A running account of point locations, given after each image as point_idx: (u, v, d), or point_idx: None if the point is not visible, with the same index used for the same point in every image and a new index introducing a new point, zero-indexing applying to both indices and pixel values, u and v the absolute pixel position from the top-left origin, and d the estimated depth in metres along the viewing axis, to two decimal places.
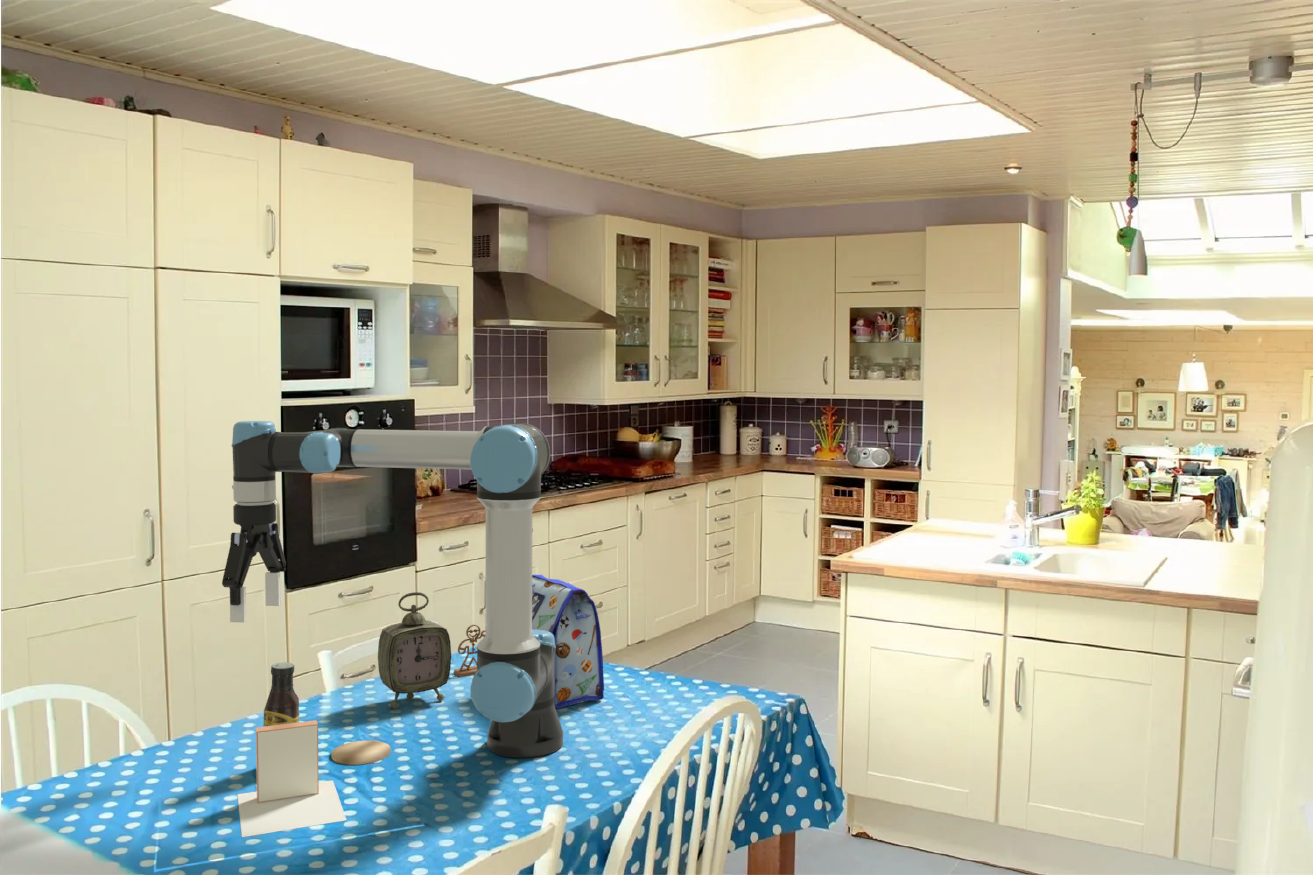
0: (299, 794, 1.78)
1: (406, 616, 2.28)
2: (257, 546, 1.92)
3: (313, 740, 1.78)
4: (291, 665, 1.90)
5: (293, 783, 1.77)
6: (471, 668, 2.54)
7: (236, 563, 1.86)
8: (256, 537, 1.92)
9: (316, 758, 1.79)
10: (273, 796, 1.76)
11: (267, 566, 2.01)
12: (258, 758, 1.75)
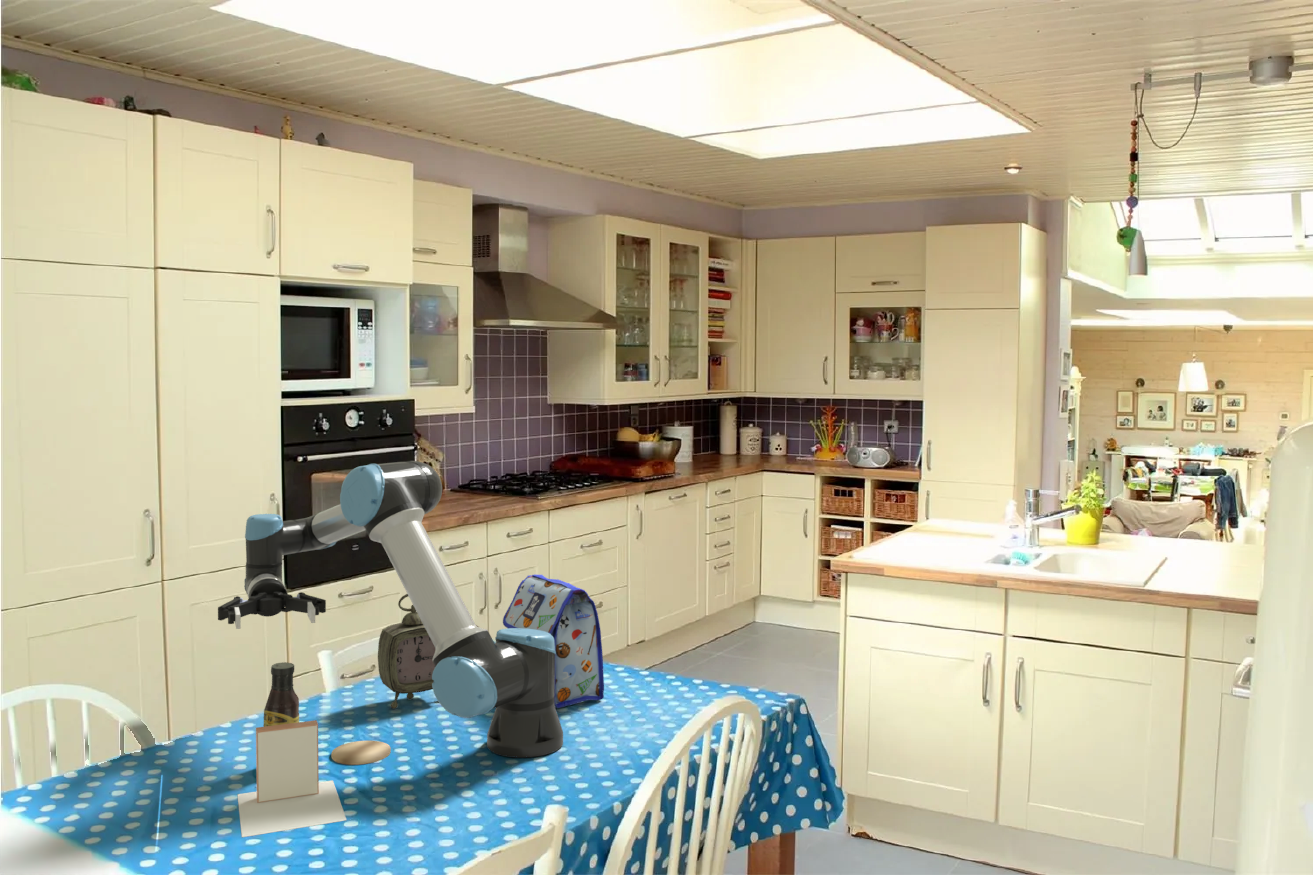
0: (299, 794, 1.78)
1: (406, 616, 2.28)
2: (257, 596, 2.08)
3: (313, 740, 1.78)
4: (291, 665, 1.90)
5: (293, 783, 1.77)
6: None
7: None
8: None
9: (316, 758, 1.79)
10: (273, 796, 1.76)
11: (306, 611, 2.07)
12: (258, 758, 1.75)
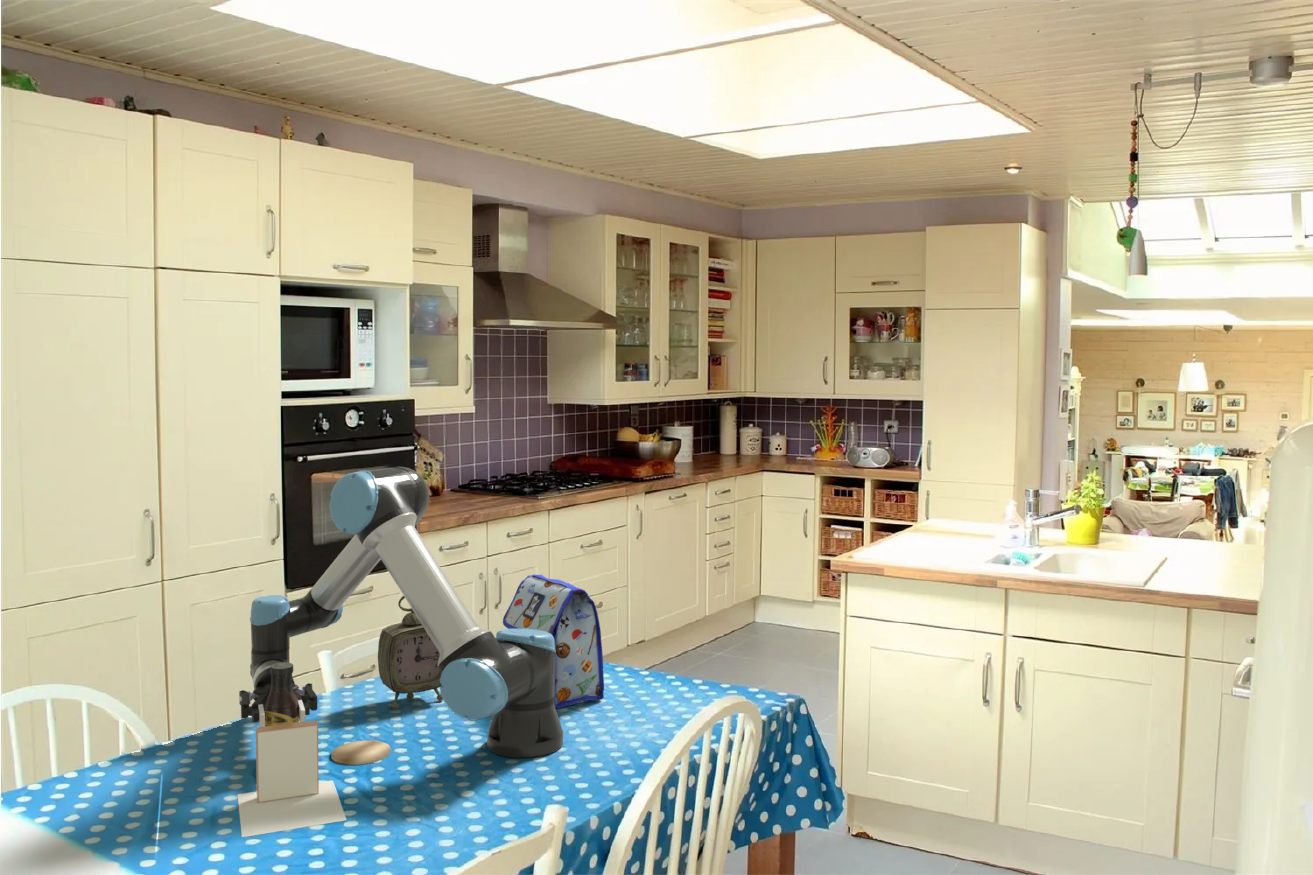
0: (299, 794, 1.78)
1: (406, 616, 2.28)
2: (266, 688, 1.98)
3: (313, 740, 1.78)
4: (290, 665, 1.89)
5: (293, 783, 1.77)
6: None
7: None
8: None
9: (316, 758, 1.79)
10: (273, 796, 1.76)
11: None
12: (258, 758, 1.75)
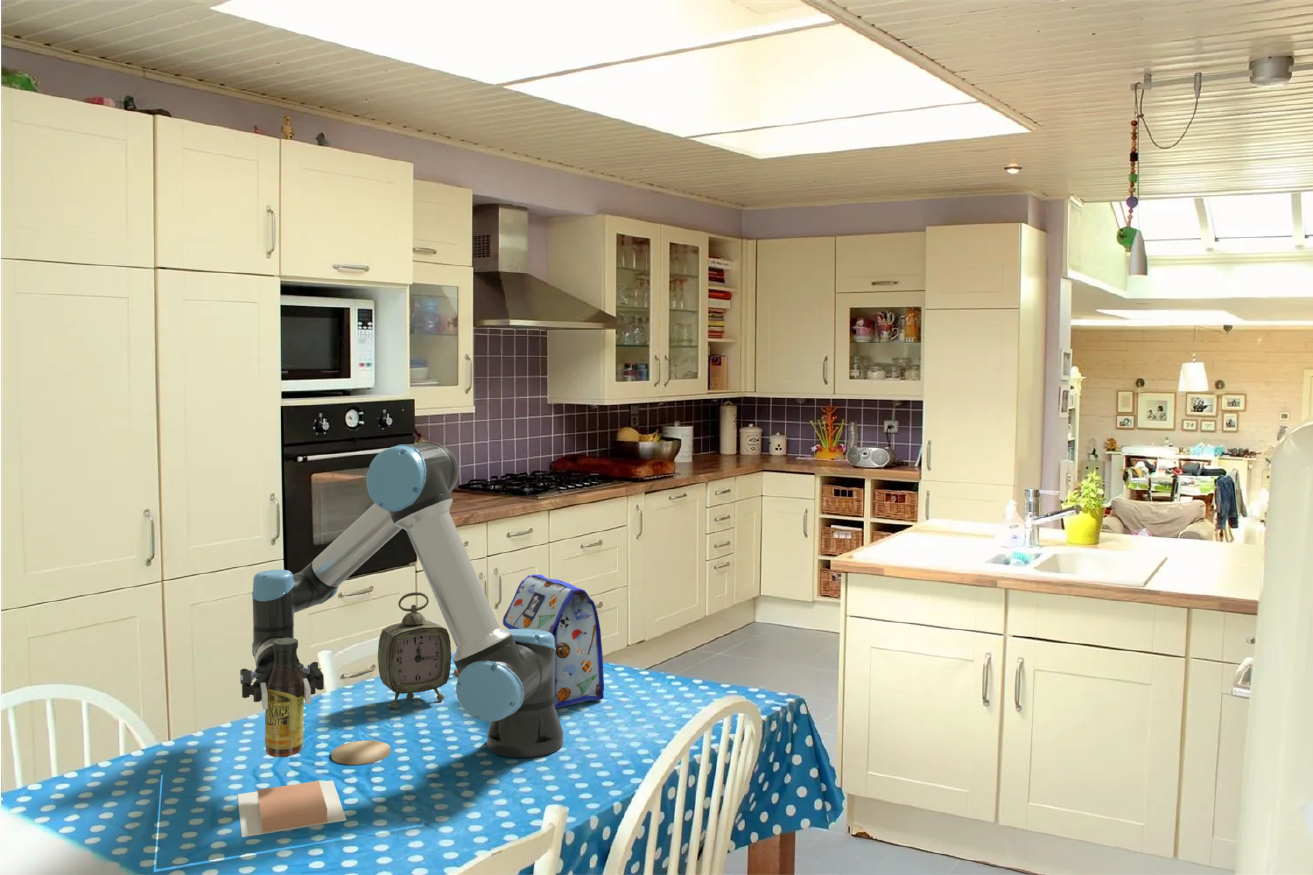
0: None
1: (406, 616, 2.28)
2: (269, 666, 1.85)
3: None
4: (294, 640, 1.77)
5: None
6: None
7: None
8: None
9: None
10: None
11: None
12: None
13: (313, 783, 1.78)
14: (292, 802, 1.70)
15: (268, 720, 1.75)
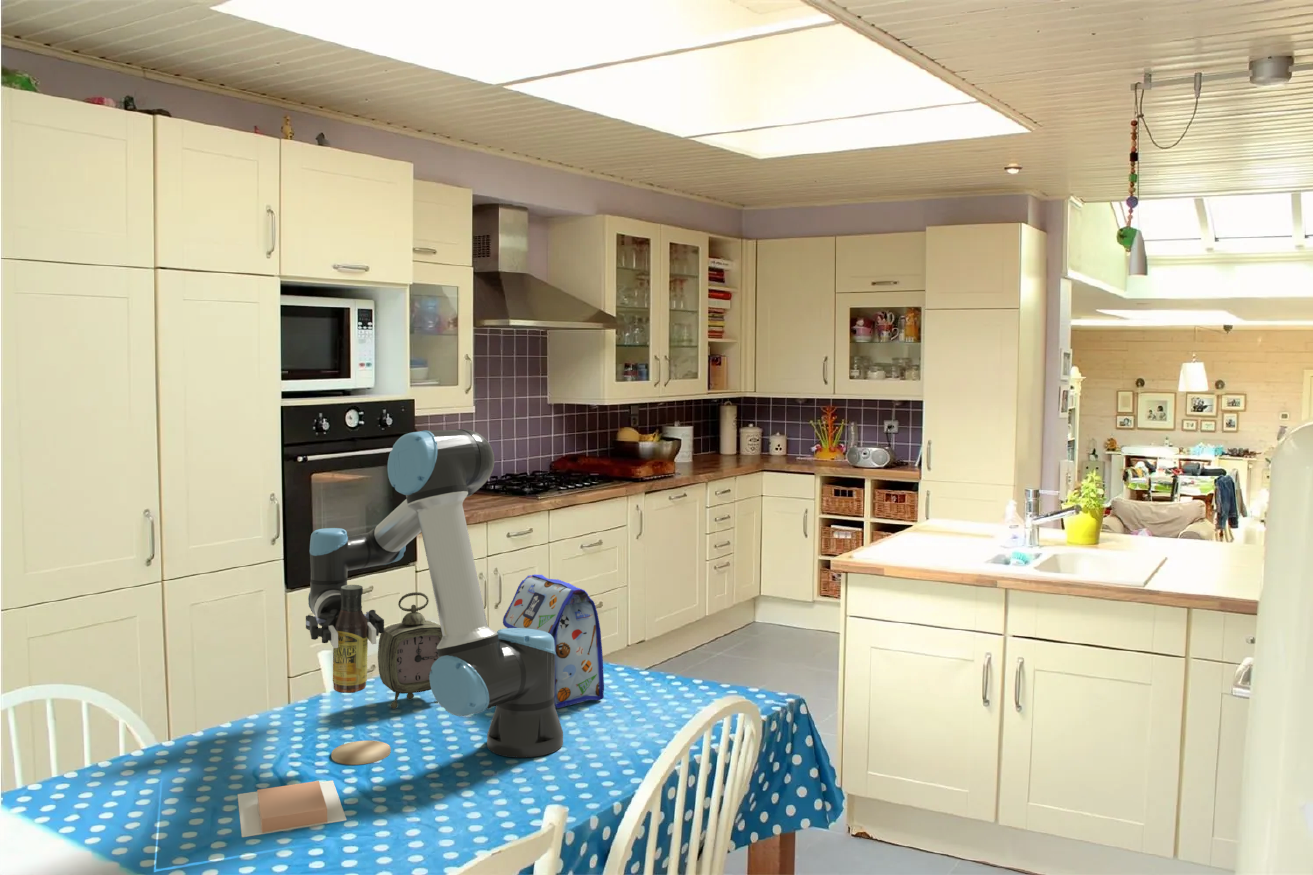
0: None
1: (406, 616, 2.28)
2: (332, 613, 2.02)
3: None
4: (360, 587, 1.93)
5: None
6: None
7: (310, 624, 1.96)
8: None
9: None
10: None
11: None
12: None
13: (313, 783, 1.78)
14: (292, 802, 1.70)
15: (336, 659, 1.92)
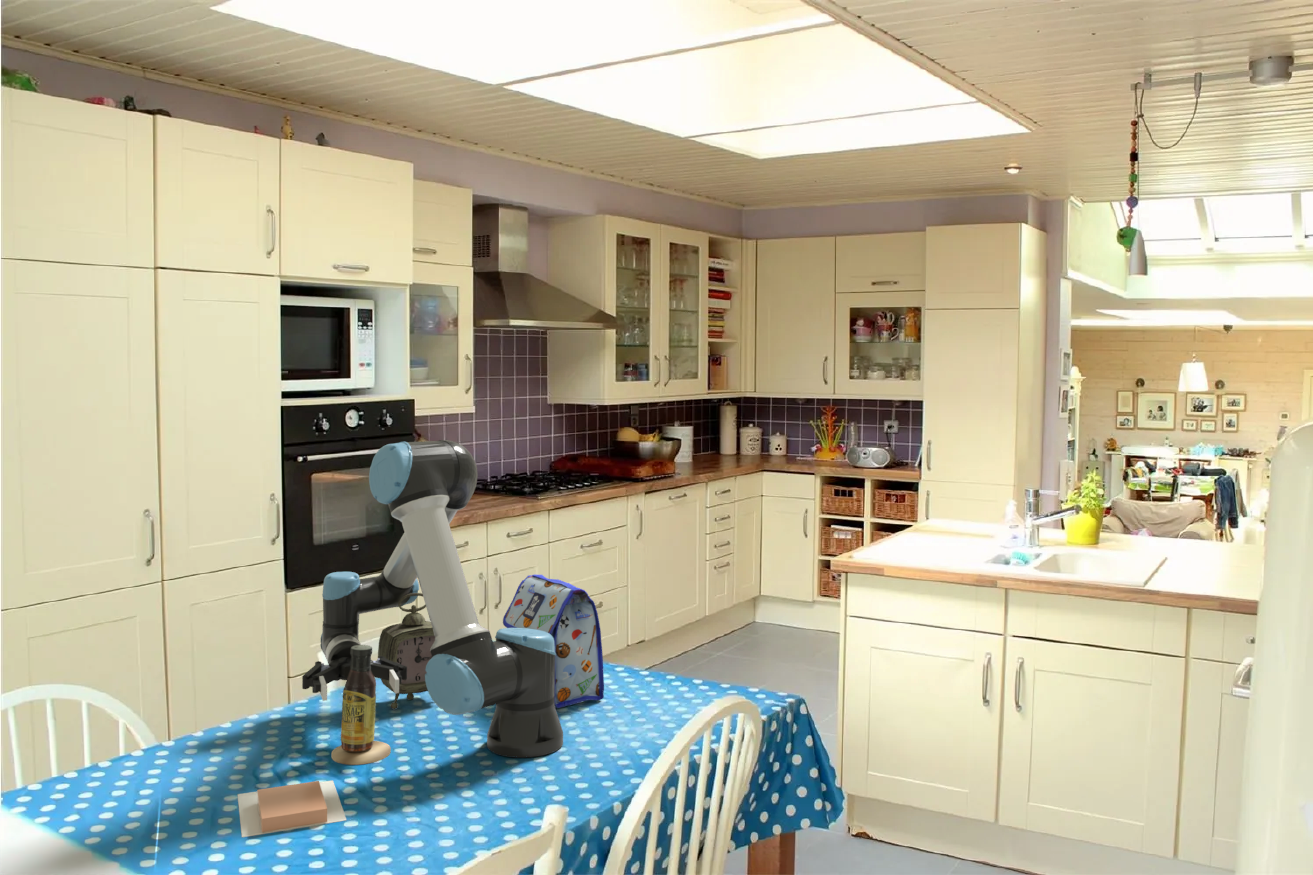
0: None
1: (406, 616, 2.28)
2: (339, 661, 2.06)
3: None
4: (369, 647, 1.98)
5: None
6: None
7: None
8: None
9: None
10: None
11: (388, 678, 2.04)
12: None
13: (313, 783, 1.78)
14: (292, 802, 1.70)
15: (344, 718, 1.96)
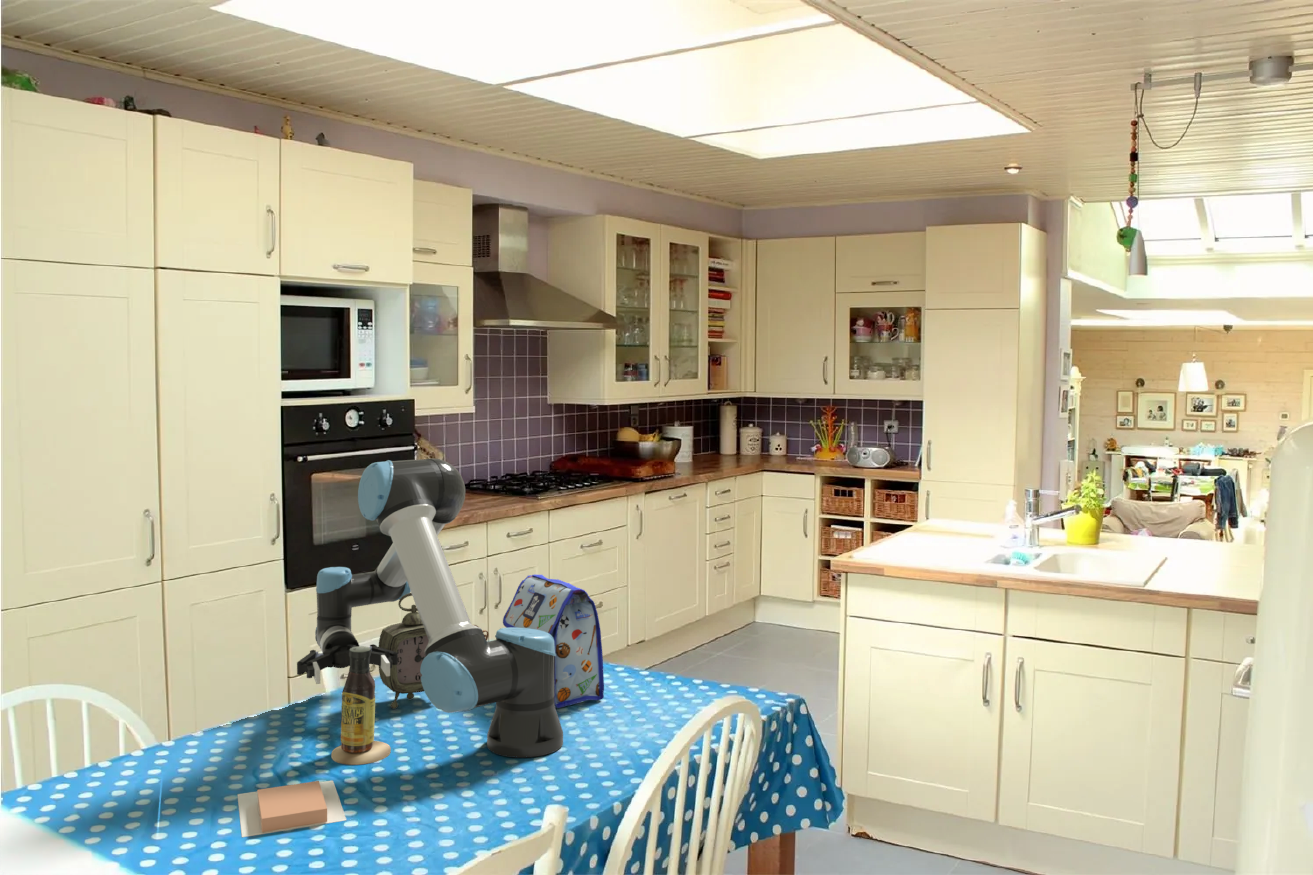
0: None
1: (406, 616, 2.28)
2: (332, 649, 2.17)
3: None
4: (368, 649, 1.98)
5: None
6: None
7: None
8: None
9: None
10: None
11: (379, 663, 2.16)
12: None
13: (313, 783, 1.78)
14: (292, 802, 1.70)
15: (344, 719, 1.96)
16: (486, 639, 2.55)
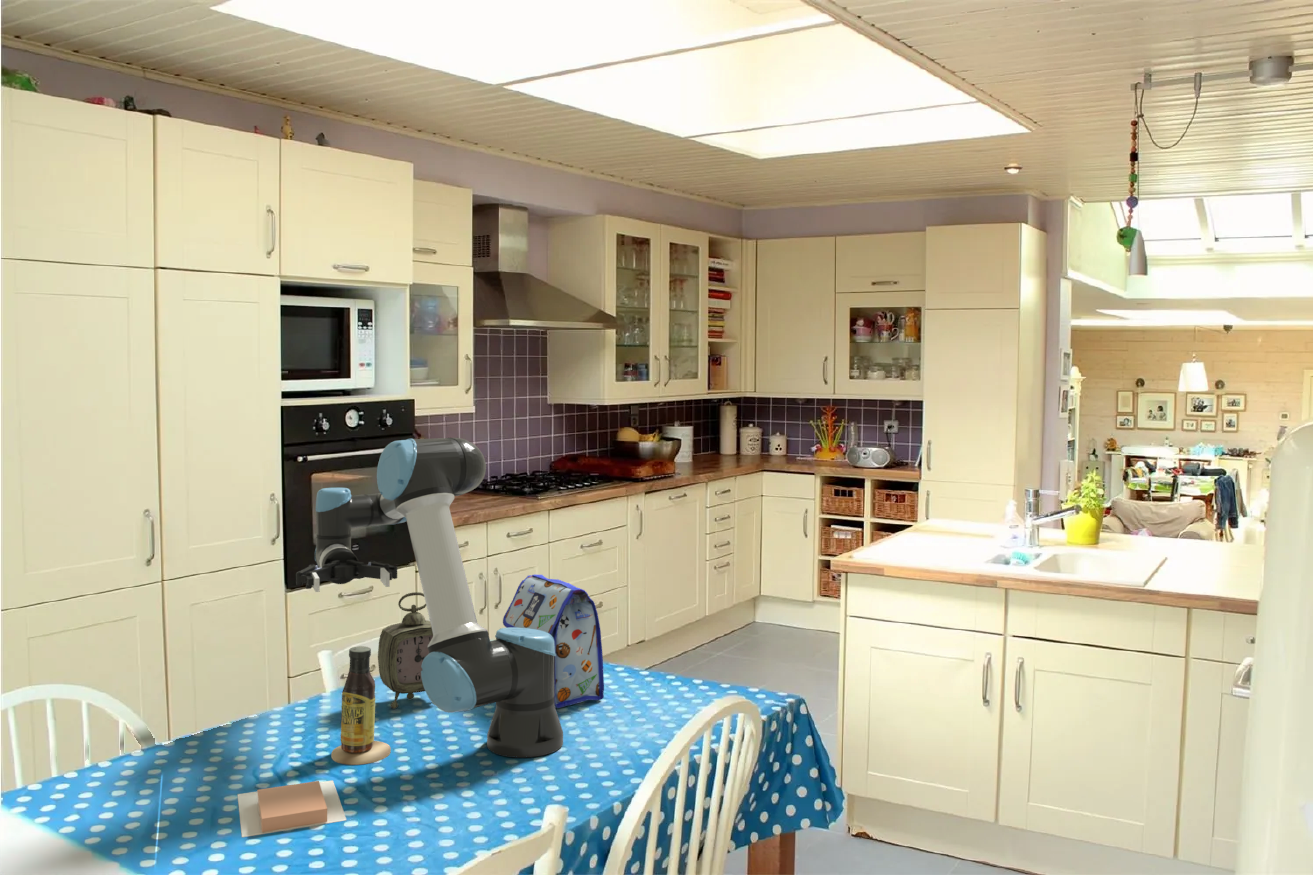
0: None
1: (406, 616, 2.28)
2: (331, 563, 2.16)
3: None
4: (368, 649, 1.98)
5: None
6: None
7: None
8: None
9: None
10: None
11: (379, 577, 2.15)
12: None
13: (313, 783, 1.78)
14: (292, 802, 1.70)
15: (344, 719, 1.96)
16: None
